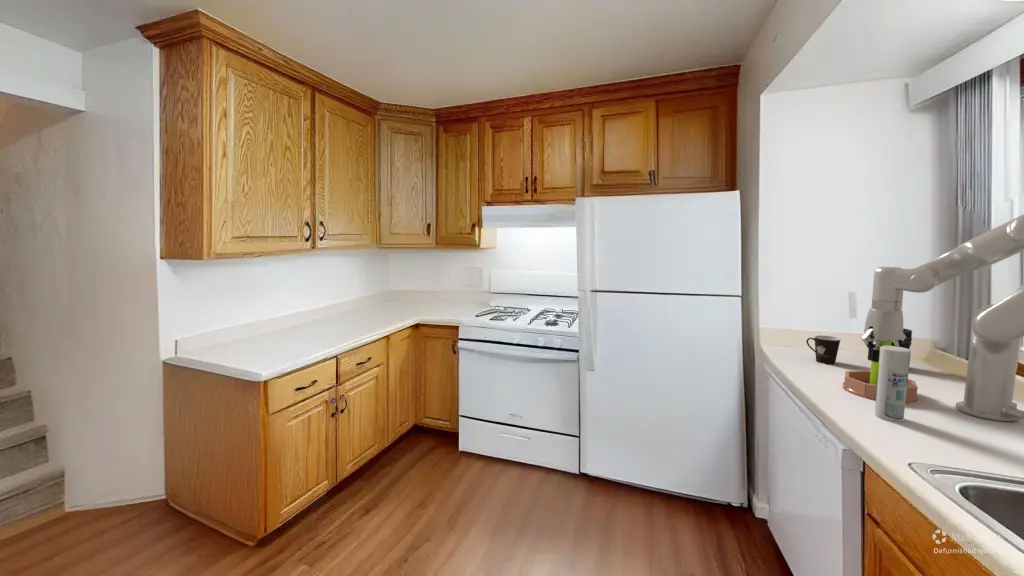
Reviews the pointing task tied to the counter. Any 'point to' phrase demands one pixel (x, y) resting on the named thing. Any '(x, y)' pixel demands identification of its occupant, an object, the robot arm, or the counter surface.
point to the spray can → (892, 383)
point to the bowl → (861, 385)
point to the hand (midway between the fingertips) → (881, 359)
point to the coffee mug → (825, 348)
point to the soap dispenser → (877, 363)
